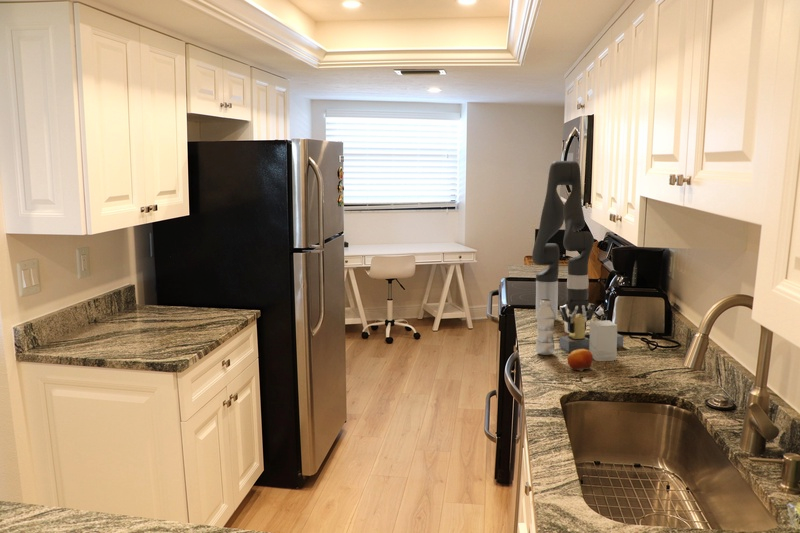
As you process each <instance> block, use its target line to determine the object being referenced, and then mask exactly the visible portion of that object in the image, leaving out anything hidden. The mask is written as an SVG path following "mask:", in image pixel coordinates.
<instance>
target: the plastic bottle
mask: <svg viewBox="0 0 800 533" xmlns="http://www.w3.org/2000/svg"><path fill="white" fill-rule="evenodd" d="M540 305H541V307H540V308H539V310H538V311H537V314H536V313H535V318H536V317H537V319H536V323H537V334H536V335H537V336H536V342H535V351H536V353H537V354H538V355H541V356H549V355H552V354H553V353H555V341H554V324H555V321H556V320H555V312H554V311H553V309H552V308H551V300H550V299H541V300H540ZM554 320H555V321H554Z"/></svg>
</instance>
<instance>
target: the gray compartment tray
mask: <svg viewBox="0 0 800 533" xmlns="http://www.w3.org/2000/svg"><path fill="white" fill-rule="evenodd" d="M589 341H590V333H585V338H584V339H573V338H571V337H569V335H565V336H563V335H562V336H559V348H561V350H564V351H566V352H568V353H571V352H572V351H574V350H577V349H586V350H589ZM617 348H624V335H622V334H619V333H617Z"/></svg>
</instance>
